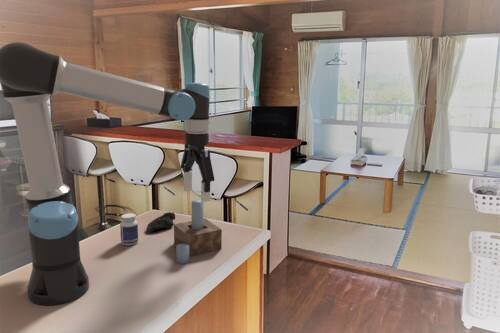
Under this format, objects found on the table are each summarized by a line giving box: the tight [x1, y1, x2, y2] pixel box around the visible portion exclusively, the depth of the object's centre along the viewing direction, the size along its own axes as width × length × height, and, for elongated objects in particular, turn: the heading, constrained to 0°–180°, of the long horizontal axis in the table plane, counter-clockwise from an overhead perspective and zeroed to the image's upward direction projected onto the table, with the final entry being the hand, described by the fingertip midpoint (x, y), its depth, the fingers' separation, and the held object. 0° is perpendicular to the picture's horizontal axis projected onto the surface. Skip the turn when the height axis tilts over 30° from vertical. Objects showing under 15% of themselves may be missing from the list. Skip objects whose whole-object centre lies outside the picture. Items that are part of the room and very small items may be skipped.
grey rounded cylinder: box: [175, 244, 190, 265], centre depth 134 cm, size 4×4×5 cm
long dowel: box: [190, 199, 205, 231], centre depth 144 cm, size 4×4×16 cm
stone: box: [145, 212, 176, 234], centre depth 160 cm, size 7×13×5 cm, turn 142°
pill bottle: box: [119, 212, 139, 247], centre depth 146 cm, size 6×6×10 cm
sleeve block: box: [173, 217, 223, 257], centre depth 145 cm, size 12×12×7 cm
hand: (196, 195), depth 141 cm, fingers open, 13 cm apart
